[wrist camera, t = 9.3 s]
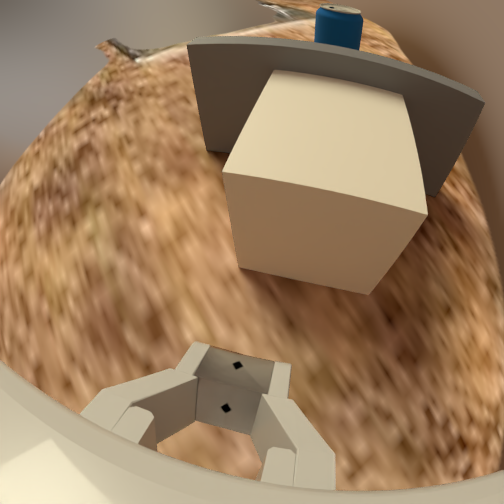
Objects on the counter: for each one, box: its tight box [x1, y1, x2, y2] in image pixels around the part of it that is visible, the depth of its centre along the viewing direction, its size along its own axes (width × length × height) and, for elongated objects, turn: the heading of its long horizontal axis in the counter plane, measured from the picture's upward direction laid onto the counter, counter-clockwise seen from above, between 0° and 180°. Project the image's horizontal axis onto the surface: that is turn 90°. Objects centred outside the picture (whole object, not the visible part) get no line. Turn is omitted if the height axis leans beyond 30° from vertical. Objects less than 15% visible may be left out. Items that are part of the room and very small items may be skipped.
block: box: [222, 70, 428, 295], centre depth 20 cm, size 12×10×10 cm
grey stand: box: [187, 36, 485, 197], centre depth 24 cm, size 9×24×12 cm, turn 75°
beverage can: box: [314, 3, 363, 50], centre depth 32 cm, size 6×6×12 cm
